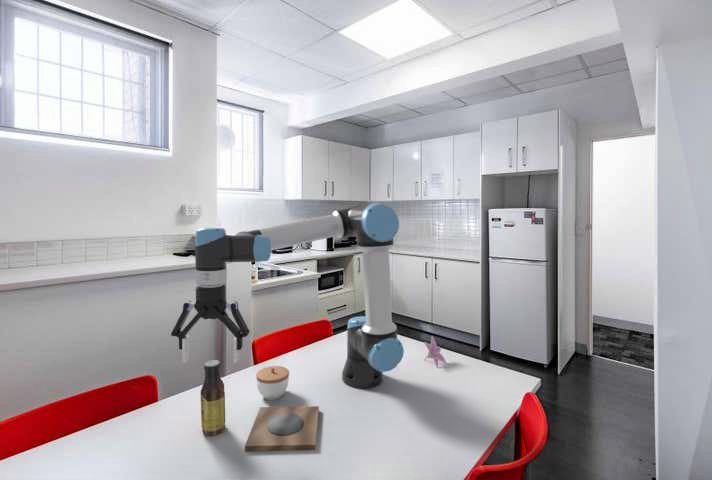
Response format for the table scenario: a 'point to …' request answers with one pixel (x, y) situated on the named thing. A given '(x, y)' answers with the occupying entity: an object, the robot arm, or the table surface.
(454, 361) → the table surface
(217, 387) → the sauce bottle
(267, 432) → the walnut board
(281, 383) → the lidded jar
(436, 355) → the lily
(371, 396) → the table surface
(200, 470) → the table surface
